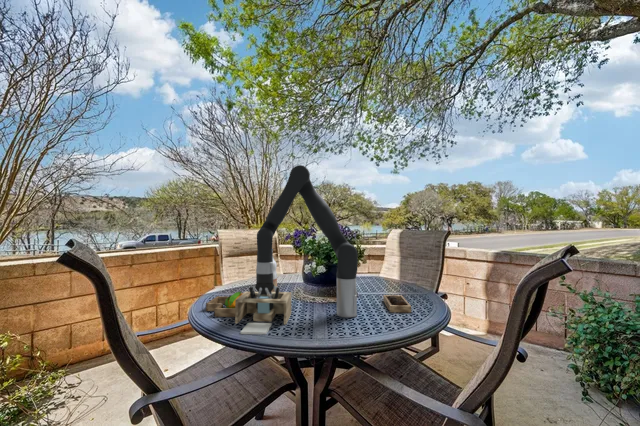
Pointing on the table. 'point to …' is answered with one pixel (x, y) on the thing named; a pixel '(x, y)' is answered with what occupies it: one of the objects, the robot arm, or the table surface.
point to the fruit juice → (274, 274)
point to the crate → (248, 304)
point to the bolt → (396, 301)
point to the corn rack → (220, 307)
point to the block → (264, 306)
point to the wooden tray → (397, 307)
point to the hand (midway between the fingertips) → (264, 309)
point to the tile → (256, 328)
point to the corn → (232, 300)
